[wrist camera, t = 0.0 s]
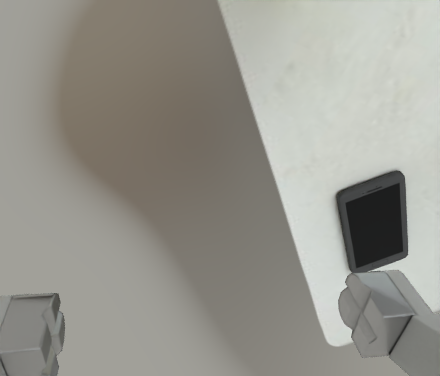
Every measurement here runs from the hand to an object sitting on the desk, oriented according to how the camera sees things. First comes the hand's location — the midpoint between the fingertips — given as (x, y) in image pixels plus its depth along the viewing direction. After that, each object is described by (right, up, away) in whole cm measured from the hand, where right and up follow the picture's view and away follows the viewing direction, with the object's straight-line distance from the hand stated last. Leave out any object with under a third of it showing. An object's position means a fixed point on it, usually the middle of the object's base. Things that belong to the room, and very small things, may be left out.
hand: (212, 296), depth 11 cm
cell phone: (+18, -1, +33) cm, 38 cm away
